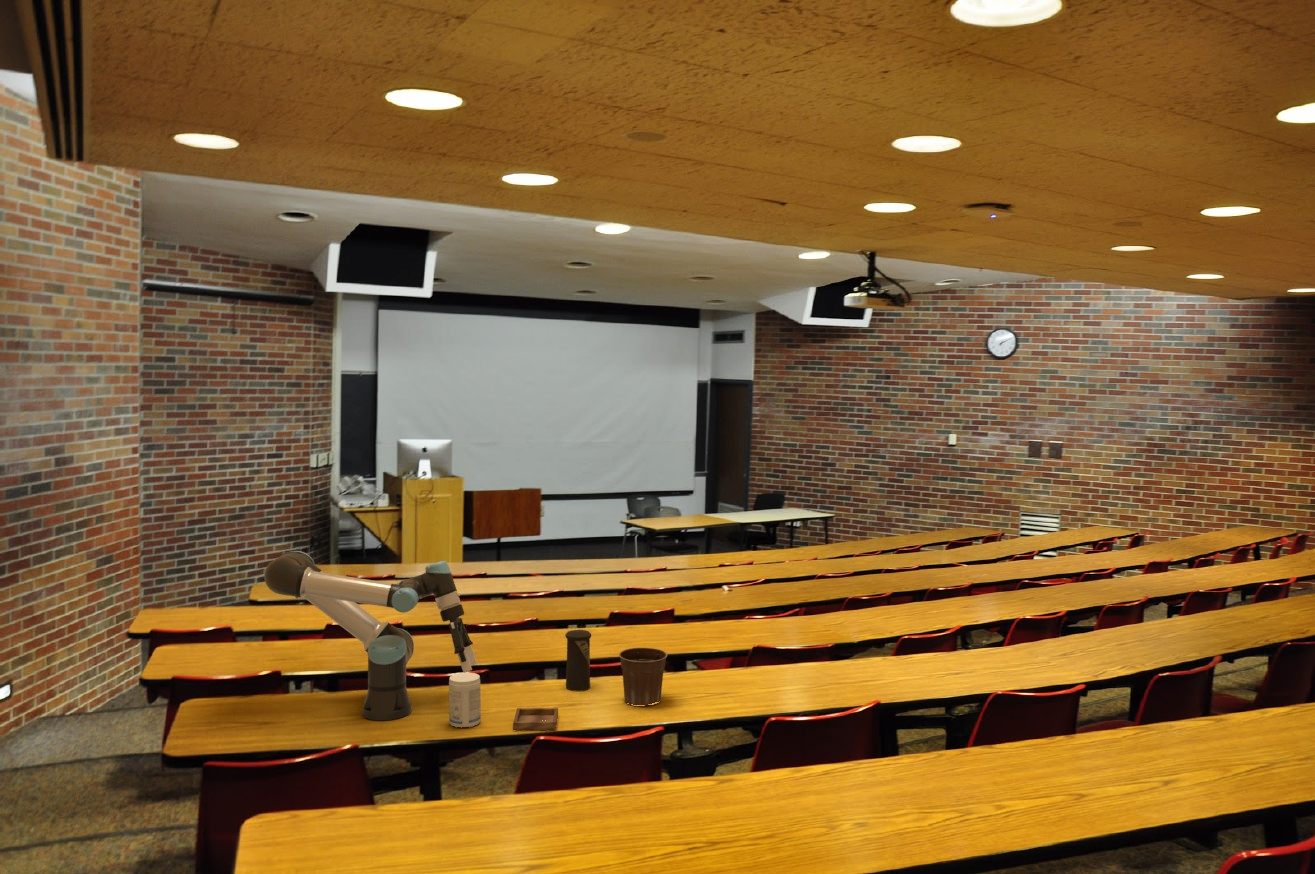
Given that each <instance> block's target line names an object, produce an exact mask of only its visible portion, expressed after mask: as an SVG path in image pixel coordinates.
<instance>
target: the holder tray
mask: <svg viewBox="0 0 1315 874" xmlns="http://www.w3.org/2000/svg"><path fill="white" fill-rule="evenodd" d="M557 719H559V708H558V707H540V708H539V707H531V708H530V707H523V708H522V707H517V708H516V712H515V715H514V718H513V722H512V731H513V730H556V731H557V727H558V720H557ZM542 720H543V721H542ZM545 720H546V721H545ZM556 726H557V727H556Z"/></svg>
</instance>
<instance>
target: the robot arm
mask: <svg viewBox="0 0 1315 874" xmlns="http://www.w3.org/2000/svg"><path fill="white" fill-rule="evenodd" d="M424 569H425V572H423V573H422V574H419V575H416V576H414V577H413V576H412V577H410V578H407V579H404V580H401V581H399V582H397V583H391V582H385V581H379V580H373V579H372V580H371V579H365V578H359V577H352V576H346V575H341V574H340V575H339V574H333V573H328V572H324V571H323V570H322V569H321V568H320V567H319V566H317V565H316V564H315V561H314V559H313V558H312V557H311V556H310V555H309V554H308V553H306V552H304V551H300V550H294V551H293V550H292V551H287V552H285V553H283V554H281V555H280V556H279V557H277V558H275V559H274V560H272V561H271V562H270V563H269V564H268V565H267V567H266V568H265V571H264V573H263V574H264V577H263V578H264V582H265V585H266V586H267V588H268V589H269V590H270V591H272V592H273V593H275V594H278V595H281V596H290V597H294V598H295V599H297V600H307V602H309V603H310V604H312V605H313V606H314V607H315V608H316V609H318V610H319V611H321V612H322V613H323V614H325V615H326V616H327V617H328V618H330V619H331V620H333V621H334V622H335V623H337V625H338V626H340V627H341V628H343V629H344V630H345V631H347V632H348V633H349V634H351V635H352V636H353V637H355V638H356V639H357V640H358V641H359V642H361V643H362V645H363V650H364V651H365V652H366V653H367V693H366V696H365V698H364V701H363V704H362V708H361V713H362V715H361V716H362V717H363V716H364V717H363V718H365V717H366V718H365V719H367V718H368V719H367V720H371V721H390V720H391V721H392V719H393V720H397V718H398V719H401V717H402V718H404V717H406V716H408V715H410V714H411V713H412V709H413V707H412V705H413V704H412V702H411V697H410V695H409V692H408V689H407V664H408V663H409V661H410V660H411V658H412V656H413V655H414V647H415V643H414V639H413V636H412V635H411V634H410V633H409V632H408V631H407V630H405V629H403V628H400V627H399V628H398V627H396V626H395V625H393V624H392V623H390V622H388V621H384V622H381V621H380V620H378V619H377V617H375V616H374V615H372V614H371V613H370V612H368V611H367V610H366V609H364V608H363V607H362V606H360V605H359V604H363V605H370V606H377V607H385V608H391V609H394V610H395V611H397V612H399V613H404V614H405V613H408V612H411V610H413V609H414V608H415V607H416V606H417V604H418V602H419V601H420V600H421V599H424V598H426V597H429V596H431V595H433V596H434V599H435V602H436V606H437V610H440V611H439V614H440V618H441V621H442V622H443V623H444V622H448V621H449V623H448V627H449V632H450V635H451V639H452V644H453V647H454V651H453V652H454V654H455V655H457V657H458V661H459V663H460V666H461V669H462V673H468V672H469V671H472V670H473V668H472V666H475V665H477V664H478V662H477V659H476V655H475V652H474V650H473V647H472V645H474V642H473V641H472V640H471V639H470V636H469V634H468V631H467V629H466V627H465V624H464V622H463V619H462V616H464V615H465V610H464V607H463V604H460V603H461V599H460V596H461V594H460V593H458V590H457V586H456V584H455V583H456V582H455V580H454V577H453V574H452V571H451V570H450V569H451V568H450V567H449V563H448V562H447V561H446V560H441V561H438V562H434V563H432V564H430V565H427V566H425V567H424ZM358 603H359V604H358ZM403 716H404V717H403Z"/></svg>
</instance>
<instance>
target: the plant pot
mask: <svg viewBox="0 0 1315 874" xmlns="http://www.w3.org/2000/svg"><path fill="white" fill-rule="evenodd" d="M618 656H619V658H620V667H621V670H622V671H621V672H622V683H623V685H622V686H623V697H624V698H623V699H624V702H625V703H626V702H627V703H629V704H633V705H647V706H648V704H652V703H655V702H659V701H660V700H661V699H662V689H663V679H664V670H665V667H666V662H667V661H666V660H667V657H668V653H667V652H666V651H664V650H662V649H659V648H654V647H653V648H652V647H631V648H627V649H623V650H622V651H620V652H619V653H618ZM660 702H661V701H660ZM627 703H626V704H627ZM629 704H628V705H629Z"/></svg>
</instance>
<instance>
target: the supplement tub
mask: <svg viewBox="0 0 1315 874" xmlns="http://www.w3.org/2000/svg"><path fill="white" fill-rule="evenodd" d="M448 680H449V681H448V711H449V712H448V713H449V714H448V715H449V717H448V719H449V721H448V722H449V725H450V726H452V727H453V726H455V727H454V728H457V727H461V728H460V729H463V728H462V727H469V728H473V727H475V725H476V726H477V725H479V724H480V722H481V720H482V717H481V716H482V715H481V714H482V713H481V712H482V711H481V709H482V708H481V706H482V705H481V677H480V675H479V674H477V673H474V672H465V673H464V672H458V673H454V674H453V675H450V676H449V679H448Z"/></svg>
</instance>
